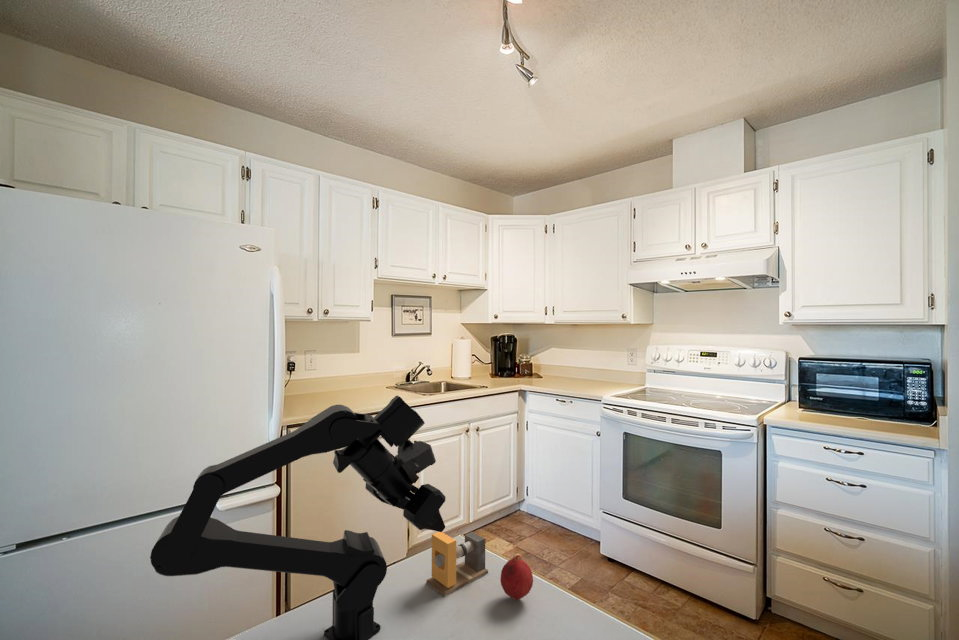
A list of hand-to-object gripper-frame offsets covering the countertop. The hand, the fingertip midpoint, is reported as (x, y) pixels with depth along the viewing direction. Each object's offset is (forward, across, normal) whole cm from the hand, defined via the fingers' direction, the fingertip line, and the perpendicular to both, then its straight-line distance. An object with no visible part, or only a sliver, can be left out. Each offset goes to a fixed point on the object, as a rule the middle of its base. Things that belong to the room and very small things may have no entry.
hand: (428, 519), depth 77 cm
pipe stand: (+16, +1, +3) cm, 16 cm away
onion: (+19, -11, 0) cm, 21 cm away
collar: (+13, +1, +5) cm, 14 cm away
